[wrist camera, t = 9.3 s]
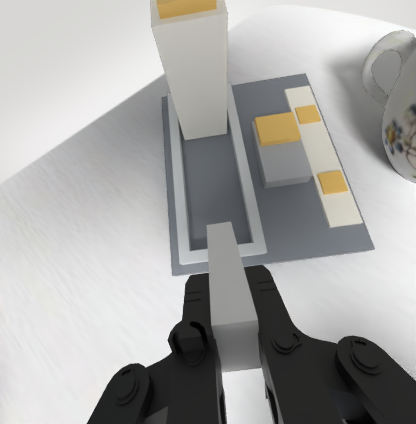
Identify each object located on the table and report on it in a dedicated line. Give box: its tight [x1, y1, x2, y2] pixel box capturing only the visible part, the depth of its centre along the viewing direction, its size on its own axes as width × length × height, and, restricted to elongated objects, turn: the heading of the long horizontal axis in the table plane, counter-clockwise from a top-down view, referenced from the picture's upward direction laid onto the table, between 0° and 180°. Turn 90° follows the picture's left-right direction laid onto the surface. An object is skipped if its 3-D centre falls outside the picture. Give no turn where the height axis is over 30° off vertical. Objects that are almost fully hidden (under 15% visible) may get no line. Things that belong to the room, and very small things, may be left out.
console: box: [162, 73, 375, 276], centre depth 18 cm, size 15×18×3 cm
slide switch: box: [150, 0, 228, 140], centre depth 15 cm, size 4×4×10 cm
